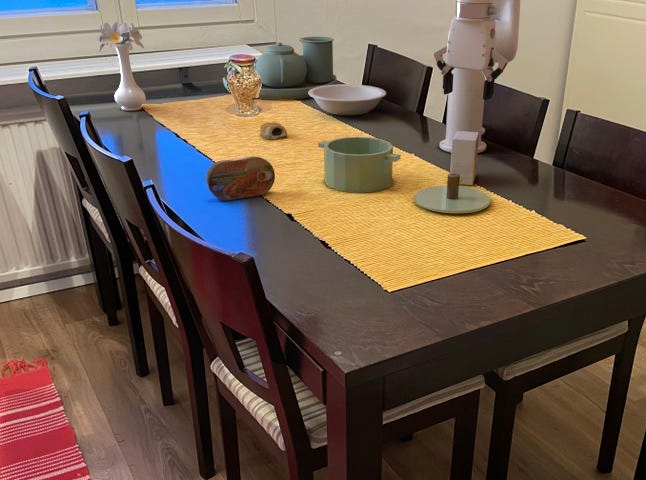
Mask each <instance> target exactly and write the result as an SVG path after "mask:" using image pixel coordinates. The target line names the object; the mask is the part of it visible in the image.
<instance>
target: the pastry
mask: <svg viewBox="0 0 646 480" xmlns="http://www.w3.org/2000/svg"><path fill="white" fill-rule="evenodd" d="M259 128H260V129H259V130H260V134H261V136H262V137H263V138H264V139H265V140H270V141H271V140H276V139H282V138H284V137H286V135H287V130H286V127H285V126H284V125H282V124H281V123H279V122H275V121H274V122H265V123H263V124H260V127H259Z"/></svg>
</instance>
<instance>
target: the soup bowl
mask: <svg viewBox="0 0 646 480" xmlns="http://www.w3.org/2000/svg"><path fill="white" fill-rule="evenodd" d="M308 94H309V95H310V96H311V98H313V99H314V102H316V104H317V105H318V106H319V107H320V108H321V109H322V110H323V111H325V112H327V113H329V114H332V115H338V116H359V115H364V114H367V113H369V112H370V111H372V110H373V109H375V107H377V106H378V104H379V103H380V101H381V99H383V98H384V97H386V96H387V91H386V90H384V89H383V88H380V87H376V86H373V85H365V84H355V83H353V84H351V83H347V84H345V83H342V84H338V83H337V85H326V86H320V87H316V88H313V89H311V90H309V92H308Z"/></svg>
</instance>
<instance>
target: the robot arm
mask: <svg viewBox="0 0 646 480" xmlns="http://www.w3.org/2000/svg"><path fill="white" fill-rule="evenodd" d="M454 13H455V16H453V17H452V19H451V22H450V25H449V26H450V27H449V30H448V35H447V43H446V45H445V46H444V47H442V48H439V49H438V50H435V51H434V52H433V57H434V60H435V62H436V66H437V68H438V69H439V71H440V73H441V76H442V90H443V95H447V107H446V108H447V109H446V111H447V112H446V126H445V139H441V141H439V148H440V149H441V150H443V151H444V152H447V153H451V152H452V139H453V138H454V136H455V133H456V131H465V132H478V133H479V140H478V151H477V154H479V153H483V152H484V151H486V149H487V144H486V142H484V141H482V135H484V134H485V133H486V129H485V128H484V127H483V121H484V110H485V109H484V108H485V101H488V100H491V99H492V97H493V95H494V90H495V81H496V80H497V79H498V78H499V76H500V75H502V74H503V73H504V70H505V69H506V67H507V65H508V64H509V63H511V62H512V61H513V60H514V59H515V58H516V55H517V53H518V48H519V47H518V46H519V36H520V35H519V32H520V31H519V30H520V16H521V15H520V14H521V0H455V12H454ZM444 55H446V56H445V57H446V58H445V60H444V58H443V56H444ZM445 61H446V62H445ZM496 63H497V64H498V65H497V67H496V69H494V67H495V65H496Z"/></svg>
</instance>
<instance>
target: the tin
mask: <svg viewBox="0 0 646 480" xmlns="http://www.w3.org/2000/svg"><path fill="white" fill-rule="evenodd" d="M205 176H206V177H205V181H206V186H207V188H208V190H209V191H210V193H211V194H212V195H213V196H214V198H217V199H219V200H221V201H226V202H227V201H235V200H239V199H241V200H242V199H247V198H253V197H259V196H263V195H265V194H267V193H268V192H269V191H270V190H271V189H272V187H273V185H274V184H275V180H276V173H275V169H274V167H273V165H272V163H270V161H268V160H267V159H266V158H263V157H260V156H255V155H254V156H246V157H238V158H231V159H224V160H218V161H216V162H215V163H213V164H212V165H211V166H210V167H209V169H208V170H207V172H206V175H205Z"/></svg>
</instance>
